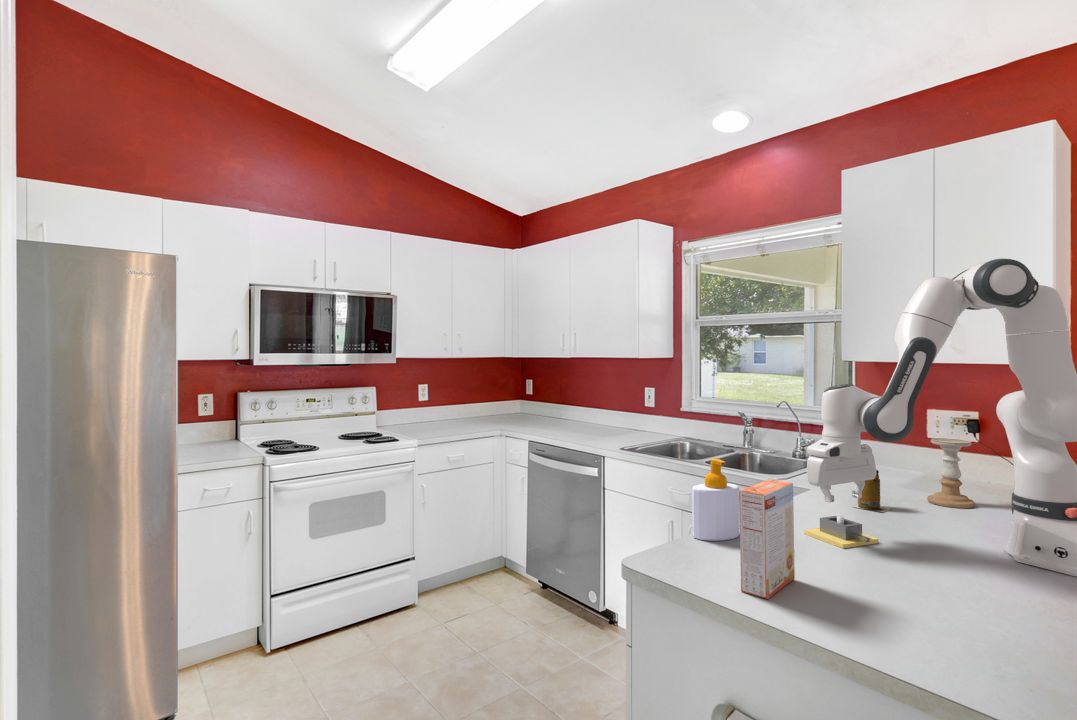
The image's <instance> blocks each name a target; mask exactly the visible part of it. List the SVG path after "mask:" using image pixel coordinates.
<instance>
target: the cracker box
mask: <svg viewBox="0 0 1077 720" xmlns="http://www.w3.org/2000/svg"><path fill="white" fill-rule="evenodd" d="M739 515H740V534H739V547H740V549H739V550H740V552H739V554H740V556H739V557H740V591H741V592H742V593H745V594H749V595H753V596H755V597H759V598H762V599H766V600H769V599H771V597H773V596H774V595H775V594H776V593H778V592H779V591H781V590H782V589H783V588H784V587H786V586H787V585H788V584H790V583H791V582H793V581H794V580H795V578H796V577H795V525H794V524H795V523H794V522H795V519H794V517H795V516H794V483H793V482H790V481H783V480H777V479H769V478H768V479H766V480H763V481H761V482H758V483H755V484H752V485H750V486H748V487H746V488H745V487H744V488H743V489H739Z"/></svg>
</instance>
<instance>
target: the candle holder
mask: <svg viewBox="0 0 1077 720" xmlns="http://www.w3.org/2000/svg"><path fill="white" fill-rule="evenodd" d="M930 443H932V444H933V445H938V446H939V447H940V449H941V450H942V451H943V455H941V457H940V459H941V461H942V466H941V469H940V471H939V475H940V477H942V478H941V479H939V483H940V485H941V491H936V492H934V493H933V494H929V495H927V497H926V500H927V502H929V503H931V504H933V505H936V506H940V507H946V508H955V509H971V508H975V507H976V502H975V501H974V500H972V499H971V498H969V497H968V496H967V495H964V494H961V490H960V487H961V486H962V485H963V482H962V481H961V480H960V478H961V477H962V471H961V469H960V466H959V462H960V461H961V458H960V457H959V456H958V452H959V451H961V449H962V447H970V446H971V445H972V442H971V441H970V440H966V439H957V438H942V437H941V438H938V437H937V438H936V437H935V438H931V439H930Z"/></svg>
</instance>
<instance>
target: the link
mask: <svg viewBox="0 0 1077 720" xmlns="http://www.w3.org/2000/svg"><path fill="white" fill-rule="evenodd" d="M837 516H838V515H833V516H824V517H819V528H820V531H821V532H824V533H826V534H829V535H832V536H835V537H837V538H840V539H843V540H852V539H858V540H861V541H864V542H870V538H868V537H865V536H862V533H863V523H860V522H856V521H854V520H853V521H852V520H850V519H847V518H844V524H841V523H838V522H837Z"/></svg>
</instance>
